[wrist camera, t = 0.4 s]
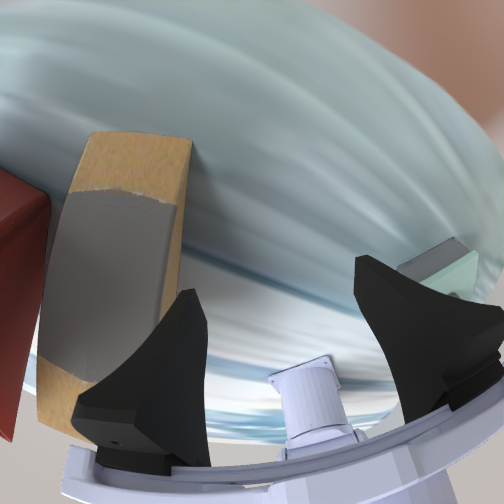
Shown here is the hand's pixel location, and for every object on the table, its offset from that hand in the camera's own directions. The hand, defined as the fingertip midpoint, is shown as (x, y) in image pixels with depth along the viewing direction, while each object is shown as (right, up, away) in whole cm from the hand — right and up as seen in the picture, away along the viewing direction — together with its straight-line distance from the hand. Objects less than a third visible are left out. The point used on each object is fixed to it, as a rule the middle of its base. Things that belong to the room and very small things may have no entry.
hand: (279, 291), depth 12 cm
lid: (+19, -3, +11) cm, 22 cm away
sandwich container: (-11, +4, +9) cm, 14 cm away
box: (+19, -1, +14) cm, 23 cm away
